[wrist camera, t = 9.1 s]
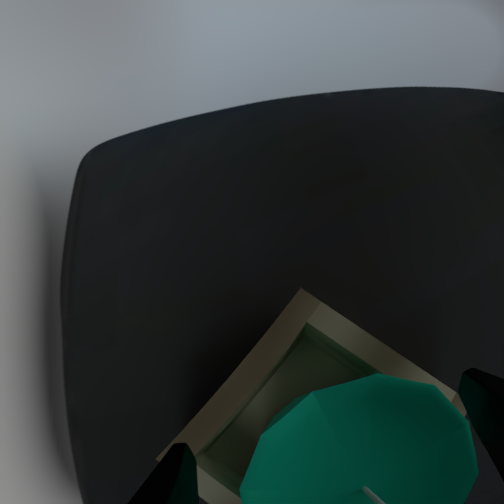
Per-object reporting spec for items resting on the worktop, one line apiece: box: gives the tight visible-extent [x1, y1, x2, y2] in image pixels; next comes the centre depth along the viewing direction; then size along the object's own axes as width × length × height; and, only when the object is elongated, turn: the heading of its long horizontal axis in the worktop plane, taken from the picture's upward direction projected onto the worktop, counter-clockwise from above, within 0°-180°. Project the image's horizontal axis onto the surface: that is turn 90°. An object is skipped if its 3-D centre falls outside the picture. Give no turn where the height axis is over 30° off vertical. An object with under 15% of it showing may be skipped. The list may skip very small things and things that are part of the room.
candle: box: [239, 373, 479, 504], centre depth 9 cm, size 6×6×12 cm
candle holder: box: [156, 288, 467, 504], centre depth 13 cm, size 11×11×4 cm
